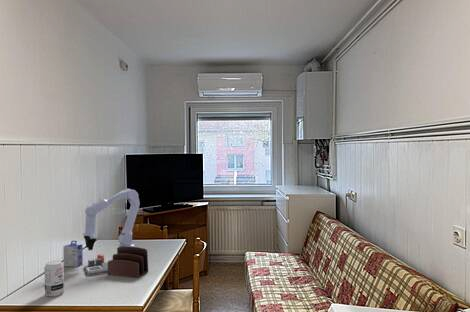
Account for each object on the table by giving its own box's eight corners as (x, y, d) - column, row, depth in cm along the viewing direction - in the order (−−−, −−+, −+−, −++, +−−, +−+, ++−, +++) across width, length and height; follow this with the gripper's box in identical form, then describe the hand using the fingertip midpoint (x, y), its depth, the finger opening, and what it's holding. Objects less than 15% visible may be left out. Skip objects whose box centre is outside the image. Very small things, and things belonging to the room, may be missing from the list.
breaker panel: (106, 264, 235) (106, 260, 235) (113, 271, 220) (113, 267, 220) (84, 267, 229) (83, 263, 229) (88, 275, 214) (88, 271, 214)
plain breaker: (100, 263, 233) (100, 258, 233) (101, 264, 229) (101, 259, 229) (95, 263, 231) (95, 258, 231) (96, 265, 228) (96, 260, 228)
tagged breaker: (93, 264, 231) (93, 258, 231) (94, 265, 227) (94, 260, 227) (88, 265, 229) (88, 259, 229) (89, 266, 226) (89, 261, 226)
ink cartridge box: (83, 264, 236) (82, 240, 236) (78, 267, 231) (77, 242, 230) (68, 263, 238) (68, 240, 238) (63, 266, 233) (62, 242, 232)
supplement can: (49, 291, 190) (48, 261, 190) (66, 290, 191) (65, 260, 191) (42, 297, 182) (41, 265, 182) (60, 297, 183) (59, 265, 183)
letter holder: (118, 269, 225) (117, 245, 224) (148, 272, 218) (148, 247, 218) (107, 275, 215) (106, 249, 215) (138, 278, 209) (138, 251, 209)
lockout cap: (103, 262, 240) (103, 253, 240) (104, 263, 237) (104, 255, 237) (96, 263, 238) (96, 254, 238) (98, 264, 235) (97, 256, 235)
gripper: (81, 224, 238) (80, 246, 238) (85, 228, 226) (84, 251, 225) (93, 223, 242) (92, 246, 241) (98, 227, 229) (96, 250, 229)
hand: (89, 248), depth 234 cm, fingers open, 7 cm apart
